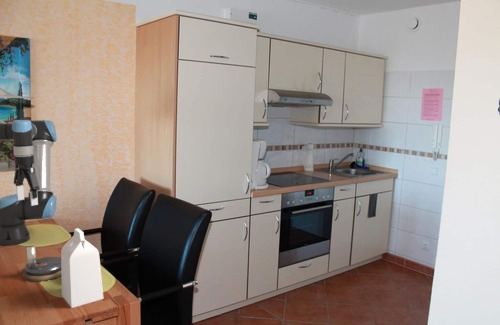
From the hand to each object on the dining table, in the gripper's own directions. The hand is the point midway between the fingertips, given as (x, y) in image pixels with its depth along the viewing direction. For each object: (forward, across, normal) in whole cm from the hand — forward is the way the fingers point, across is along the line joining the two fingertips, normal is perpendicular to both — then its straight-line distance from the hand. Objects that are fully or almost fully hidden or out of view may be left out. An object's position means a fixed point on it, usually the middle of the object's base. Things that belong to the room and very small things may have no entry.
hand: (27, 202), depth 191 cm
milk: (+27, -51, +4) cm, 58 cm away
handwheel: (+24, -20, +3) cm, 32 cm away
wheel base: (+27, -20, +3) cm, 33 cm away
